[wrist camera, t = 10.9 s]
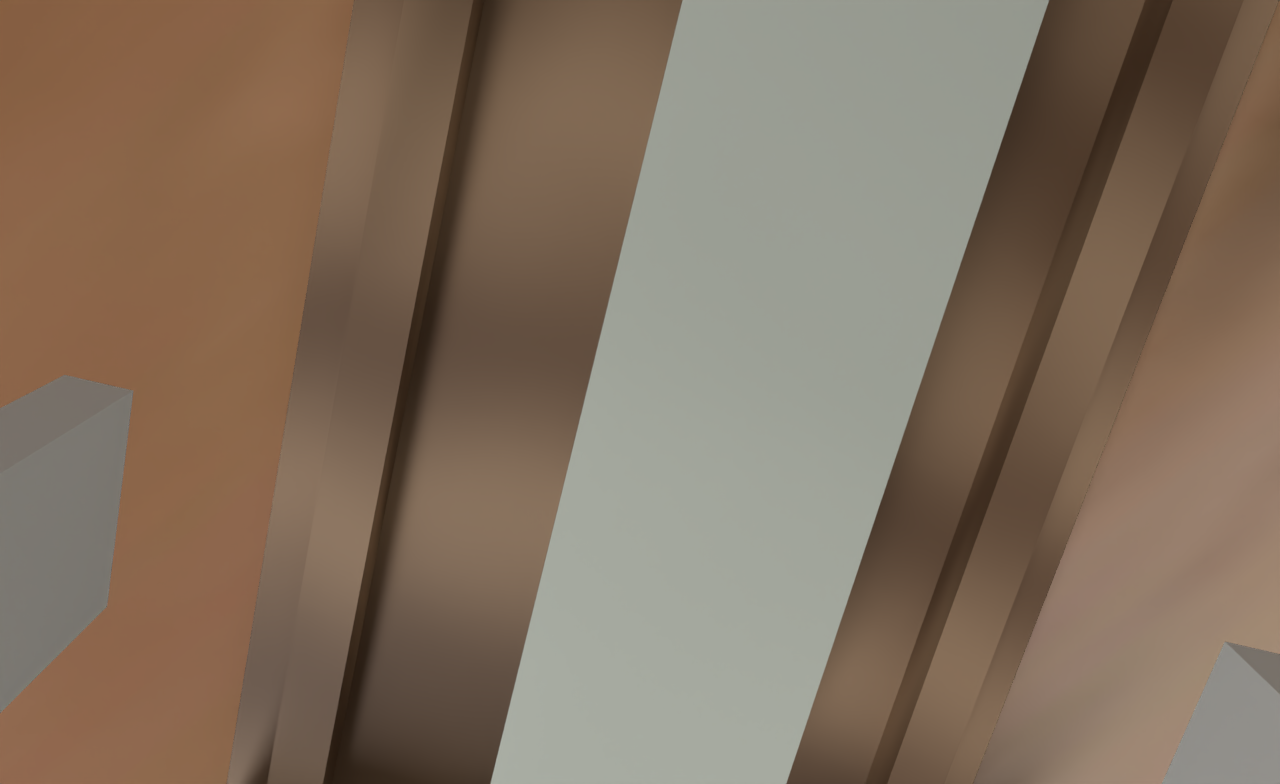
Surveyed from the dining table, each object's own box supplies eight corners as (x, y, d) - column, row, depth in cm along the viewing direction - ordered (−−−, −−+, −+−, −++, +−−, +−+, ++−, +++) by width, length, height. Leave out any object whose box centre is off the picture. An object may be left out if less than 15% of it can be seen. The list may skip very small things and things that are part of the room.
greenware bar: (487, 791, 21) (436, 1002, 16) (699, -69, 17) (713, -128, 12) (686, 836, 21) (694, 1057, 16) (947, -4, 17) (1061, -34, 12)
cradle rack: (861, 1007, 24) (906, 1216, 19) (226, 870, 23) (124, 1054, 19) (1315, -177, 17) (1537, -262, 13) (440, -420, 16) (361, -599, 12)
